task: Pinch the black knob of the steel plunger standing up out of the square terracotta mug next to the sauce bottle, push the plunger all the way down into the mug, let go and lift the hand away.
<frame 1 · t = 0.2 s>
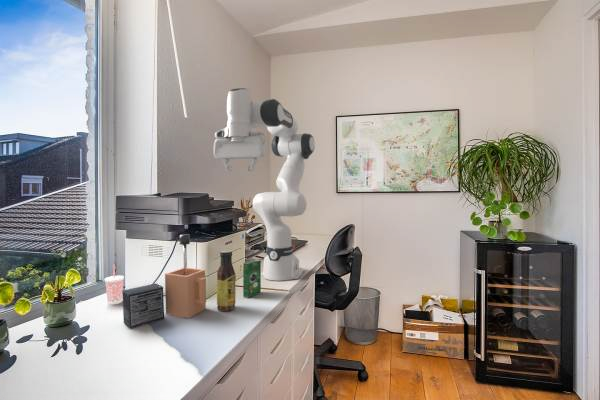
hand: (239, 171, 122), 48 cm above the table, tool pointing down, fingers open, 8 cm apart
plunger: (185, 259, 111), point 18 cm above the table, slide at 0.0 cm
small box: (144, 321, 104), on the table
beverage cup: (115, 302, 121), on the table
sauce bottle: (226, 309, 114), on the table
square terracotta mug: (186, 311, 112), on the table
coffee box: (252, 295, 129), on the table
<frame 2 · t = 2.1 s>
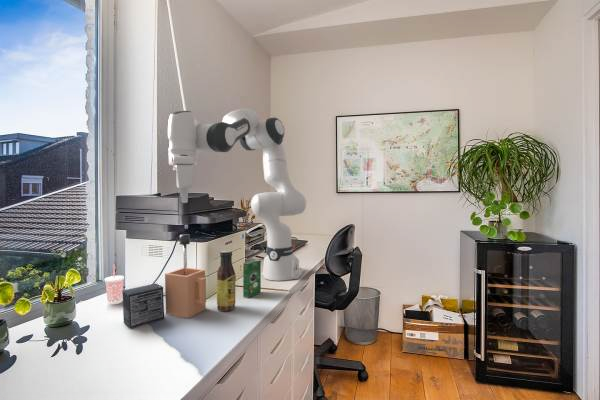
hand: (183, 202, 110), 37 cm above the table, tool pointing down, fingers open, 8 cm apart
nothing on the table moved.
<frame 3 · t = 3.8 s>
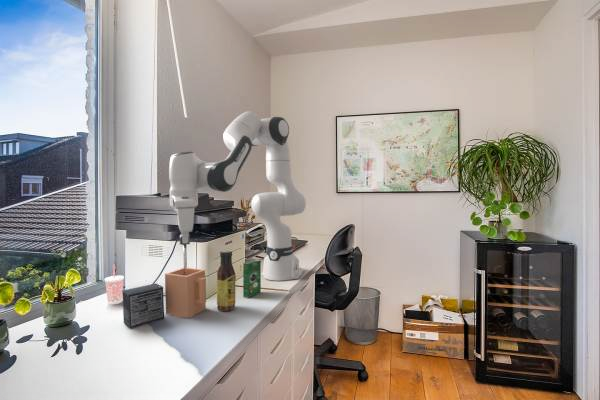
hand: (184, 241, 111), 24 cm above the table, tool pointing down, fingers closed on plunger, 3 cm apart
plunger: (185, 259, 111), point 18 cm above the table, slide at 0.0 cm, touching gripper
everything else where it was.
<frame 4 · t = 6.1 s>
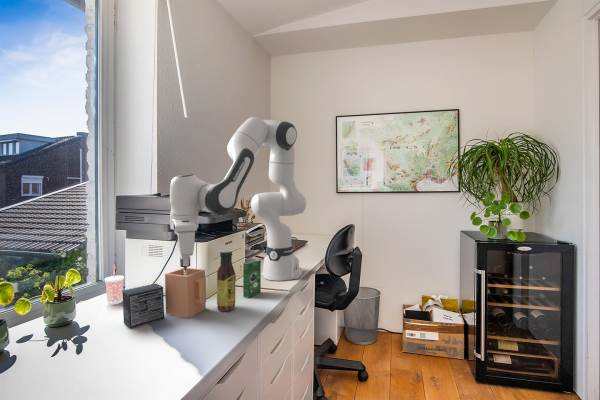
hand: (185, 264, 111), 16 cm above the table, tool pointing down, fingers closed on plunger, 3 cm apart
plunger: (185, 281, 111), point 10 cm above the table, slide at 7.5 cm, touching gripper
everything else where it was.
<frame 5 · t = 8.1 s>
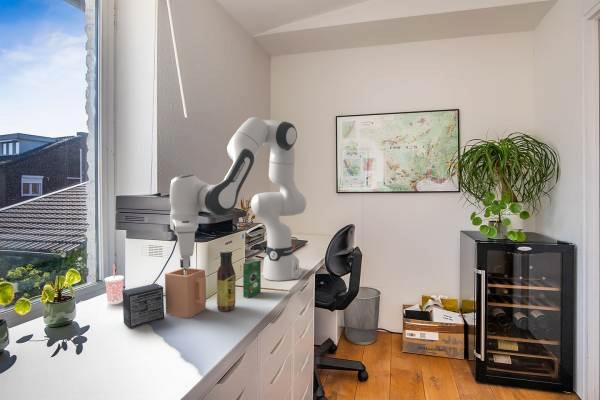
hand: (185, 264, 111), 16 cm above the table, tool pointing down, fingers open, 8 cm apart
plunger: (185, 282, 111), point 10 cm above the table, slide at 7.7 cm
everything else where it was.
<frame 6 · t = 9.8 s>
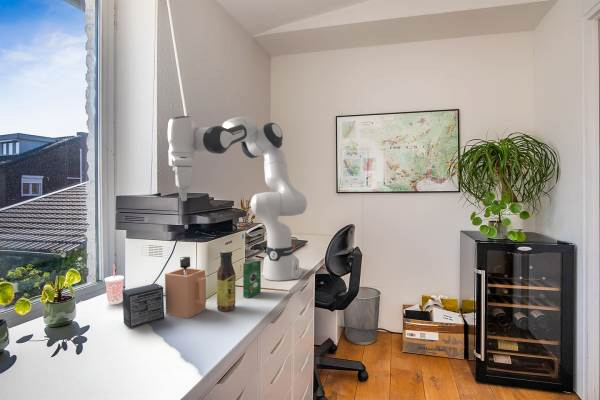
hand: (182, 199, 120), 37 cm above the table, tool pointing down, fingers open, 8 cm apart
nothing on the table moved.
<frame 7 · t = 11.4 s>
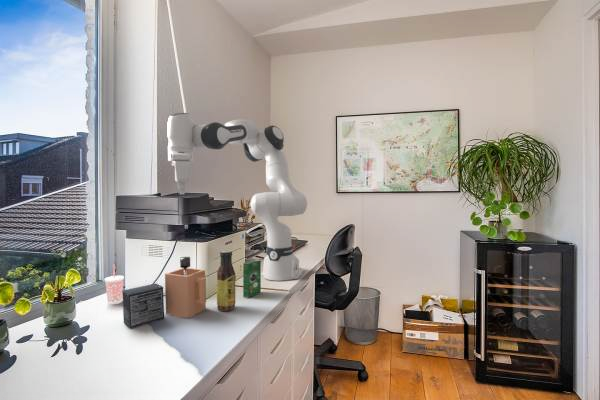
hand: (181, 194, 124), 39 cm above the table, tool pointing down, fingers open, 8 cm apart
nothing on the table moved.
at the end: plunger slide at 7.7 cm; the gripper is holding nothing; sauce bottle tilted 0° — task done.
